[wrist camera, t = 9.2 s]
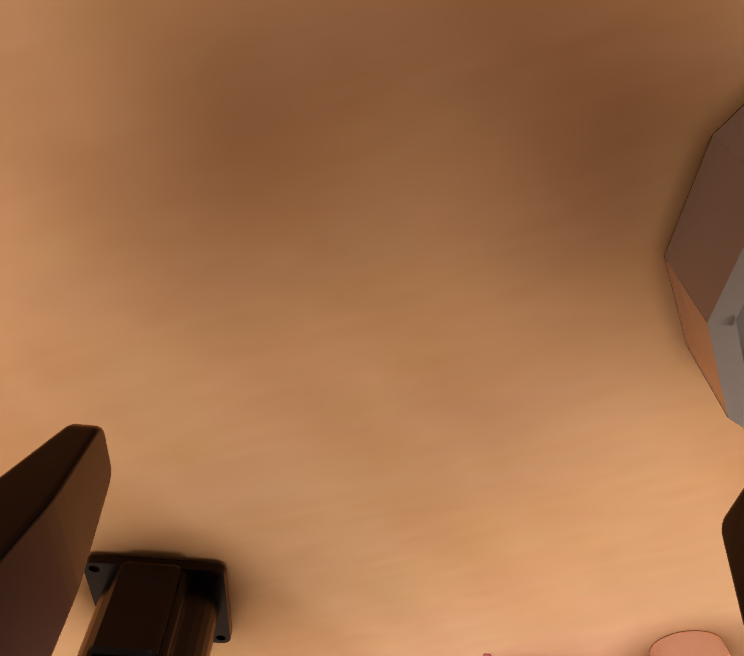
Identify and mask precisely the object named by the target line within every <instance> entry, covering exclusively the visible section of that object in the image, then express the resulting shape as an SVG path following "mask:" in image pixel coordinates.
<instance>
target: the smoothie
mask: <svg viewBox="0 0 744 656" xmlns="http://www.w3.org/2000/svg"><path fill="white" fill-rule="evenodd" d="M650 656H731V655H730V654H729V652H728V650H727V648H726V646H725V645H724V643H723V641H722V639H721V638H720V637H718V636H717V635H715V634H712V633H709V632H703V631H686V632H680V633H675V634H672V635H669V636H666V637H664V638H662V639H660V640H659V641H657V642H656V643H655V644H654V645H653V646H652V647H651V649H650Z"/></svg>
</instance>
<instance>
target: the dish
mask: <svg viewBox="0 0 744 656" xmlns="http://www.w3.org/2000/svg"><path fill="white" fill-rule="evenodd" d="M664 257H665V261H666V265H667V269H668V273H669V277H670V281H671V285H672V289H673V293H674V297H675V301H676V305H677V309H678V313H679V317H680V321H681V325H682V329H683V333H684V337H685V341H686V345H687V347H688V349H689V351H690V352H691V354H692V356H693V358H694V359H695V361H696V363H697V365H698V366H699V368H700V370H701V372H702V373H703V375H704V377H705V379H706V380H707V382H708V384H709V386H710V388H711V389H712V391H713V393H714V395H715V396H716V398H717V400H718V402H719V403H720V405H721V407H722V409H723V410H724V412H725V414H726V416H727V417H728V418H729V419H731V420H732V421H734V422H735V423H737V424H739V425H740V426H742V427H743V428H744V105H743V106H742V107H741V108H740V109H739V110H738V111H737V112H736V113H735V114H734V115H733V116H732V117H731V118H730V119H729V120H728V121H727V122H726V123H725V124H724V125H723V126H722V127H721V128H720V129H719V130H718V131H716V132H715V133H714V134H713V135H712V138H711V140H710V143H709V145H708V148H707V150H706V153H705V155H704V158H703V160H702V163H701V165H700V168H699V170H698V173H697V175H696V178H695V180H694V183H693V185H692V188H691V191H690V193H689V196H688V198H687V201H686V203H685V206H684V208H683V211H682V213H681V216H680V218H679V221H678V223H677V226H676V228H675V231H674V233H673V236H672V238H671V241H670V243H669V246H668V248H667V251H666V253H665V256H664Z"/></svg>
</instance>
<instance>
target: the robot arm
mask: <svg viewBox="0 0 744 656" xmlns="http://www.w3.org/2000/svg"><path fill="white" fill-rule="evenodd" d="M110 478H111V464H110V459H109V454H108V449H107V444H106V439H105V434H104V431H103V430H102V428H101V427H98V426H92V425H81V424H72V425H69V426H67V427H65V428H64V429H63V430H61V431H60V432H59V433H57V434H56V435H55V436H53V437H52V438H51V439H49V440H48V441H47V442H46V443H44V444H43V445H42V446H40V447H39V448H38V449H36V450H35V451H34V452H32V453H31V454H30V455H29V456H27V457H26V458H25V459H23V460H22V461H21V462H19V463H18V464H17V465H15V466H14V467H13V468H11V469H10V470H9V471H8V472H6V473H5V474H4V475H2V476H1V477H0V656H51V655H52V653H53V651H54V648H55V646H56V643H57V641H58V639H59V636H60V634H61V631H62V629H63V626H64V624H65V622H66V619H67V617H68V614H69V612H70V610H71V607H72V605H73V602H74V600H75V597H76V594H77V592H78V589H79V586H80V583H81V580H82V577H83V573H84V572H85V575H86V578H87V582H88V585H89V588H90V591H91V594H92V597H93V600H94V603H95V606H96V608H95V611H94V613H93V616H92V618H91V621H90V624H89V626H88V629H87V631H86V634H85V637H84V639H83V642H82V644H81V647H80V650H79V652H78V655H77V656H210V653H211V649H212V644H213V642H215V643H226V642H229V641H230V639H231V634H232V626H231V615H230V605H229V595H228V585H227V574H226V569H225V567H224V566H223V565H220V564H217V563H205V562H190V561H176V560H161V559H146V558H132V557H117V556H102V555H91V556H89V553H90V549H91V546H92V543H93V539H94V536H95V532H96V529H97V525H98V522H99V518H100V515H101V511H102V508H103V504H104V501H105V497H106V494H107V491H108V487H109V483H110ZM722 536H723V541H724V545H725V549H726V553H727V558H728V562H729V566H730V570H731V574H732V579H733V583H734V587H735V591H736V595H737V600H738V604H739V608H740V612H741V616H742V621H743V624H744V489H743V490H742V492H741V493H740V495H739V496H738V498H737V499H736V501H735V502H734V504H733V505H732V507H731V508H730V510H729V511H728V513H727V514H726V516H725V517H724V520H723V523H722Z"/></svg>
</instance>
